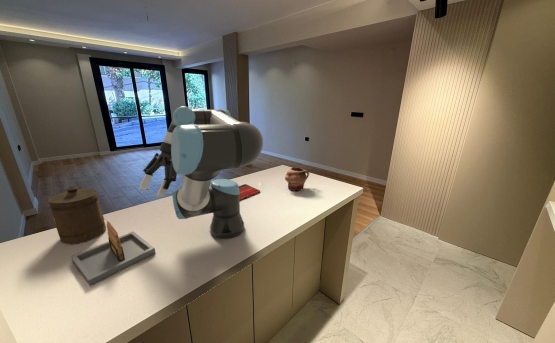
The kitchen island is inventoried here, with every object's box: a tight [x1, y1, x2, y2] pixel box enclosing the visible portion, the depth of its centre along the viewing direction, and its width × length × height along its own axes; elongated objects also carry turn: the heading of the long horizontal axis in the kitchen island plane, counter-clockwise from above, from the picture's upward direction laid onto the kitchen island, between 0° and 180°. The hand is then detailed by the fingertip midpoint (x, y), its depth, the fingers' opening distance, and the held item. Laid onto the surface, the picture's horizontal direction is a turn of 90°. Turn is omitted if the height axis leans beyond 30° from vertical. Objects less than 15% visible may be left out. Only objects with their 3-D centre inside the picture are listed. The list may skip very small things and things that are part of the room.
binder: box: [239, 183, 261, 202], centre depth 140 cm, size 16×2×21 cm
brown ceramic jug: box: [284, 167, 310, 191], centre depth 149 cm, size 20×12×14 cm, turn 130°
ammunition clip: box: [106, 220, 125, 261], centre depth 80 cm, size 11×2×12 cm, turn 49°
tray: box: [70, 231, 156, 287], centre depth 81 cm, size 18×20×2 cm
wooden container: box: [48, 185, 107, 245], centre depth 91 cm, size 15×15×22 cm
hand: (150, 193), depth 89 cm, fingers open, 13 cm apart
